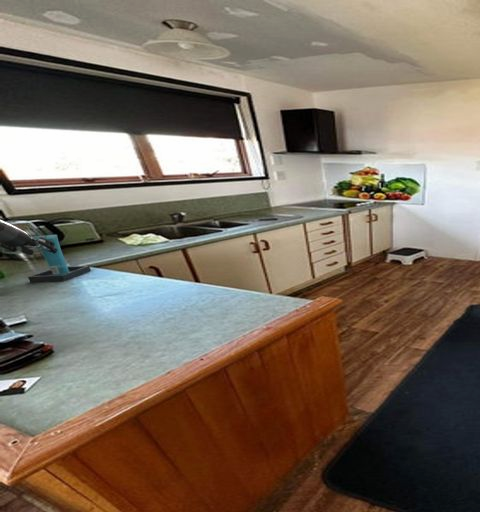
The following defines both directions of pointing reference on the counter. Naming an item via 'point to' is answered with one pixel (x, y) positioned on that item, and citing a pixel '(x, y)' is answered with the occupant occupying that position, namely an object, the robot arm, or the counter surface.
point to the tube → (54, 256)
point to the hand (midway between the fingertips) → (44, 252)
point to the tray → (49, 275)
